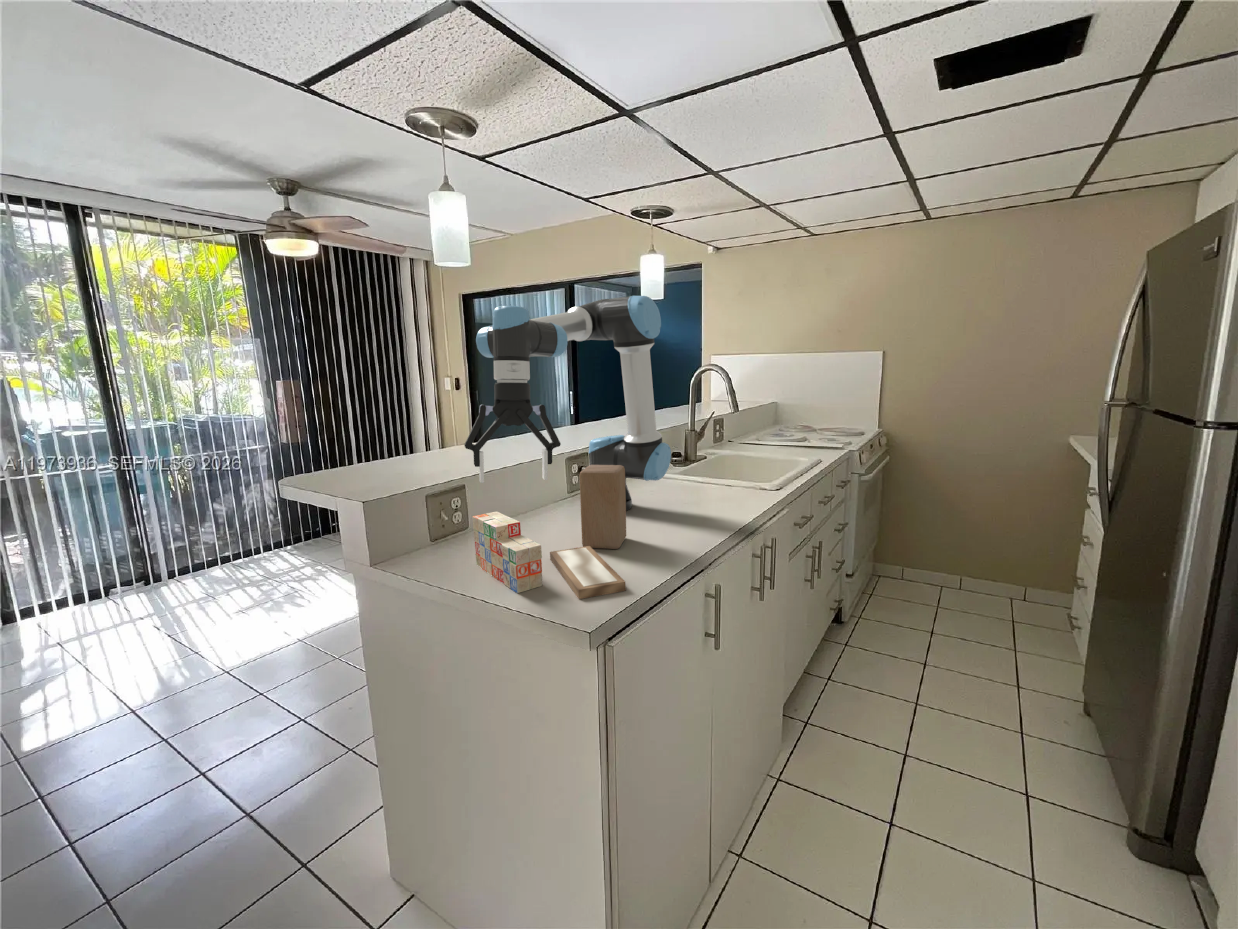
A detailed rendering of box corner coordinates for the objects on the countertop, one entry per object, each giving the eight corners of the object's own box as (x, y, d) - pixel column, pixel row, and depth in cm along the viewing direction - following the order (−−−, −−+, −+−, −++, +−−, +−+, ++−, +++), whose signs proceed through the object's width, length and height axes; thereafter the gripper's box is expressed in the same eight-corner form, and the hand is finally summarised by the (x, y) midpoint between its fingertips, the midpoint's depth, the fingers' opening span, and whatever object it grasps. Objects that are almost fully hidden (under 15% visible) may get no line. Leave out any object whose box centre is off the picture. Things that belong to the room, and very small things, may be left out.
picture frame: (589, 553, 133) (589, 545, 132) (625, 590, 110) (625, 581, 110) (550, 559, 129) (549, 551, 129) (578, 599, 107) (578, 589, 107)
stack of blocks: (543, 586, 114) (540, 530, 112) (517, 594, 110) (513, 537, 108) (500, 559, 131) (496, 510, 128) (475, 565, 127) (471, 515, 125)
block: (619, 550, 134) (617, 472, 131) (581, 548, 136) (578, 471, 133) (627, 537, 144) (625, 464, 140) (591, 536, 146) (588, 464, 142)
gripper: (450, 380, 107) (454, 485, 110) (573, 382, 114) (573, 480, 117) (450, 381, 114) (454, 480, 117) (566, 382, 121) (566, 475, 124)
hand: (514, 480), depth 117 cm, fingers open, 13 cm apart
